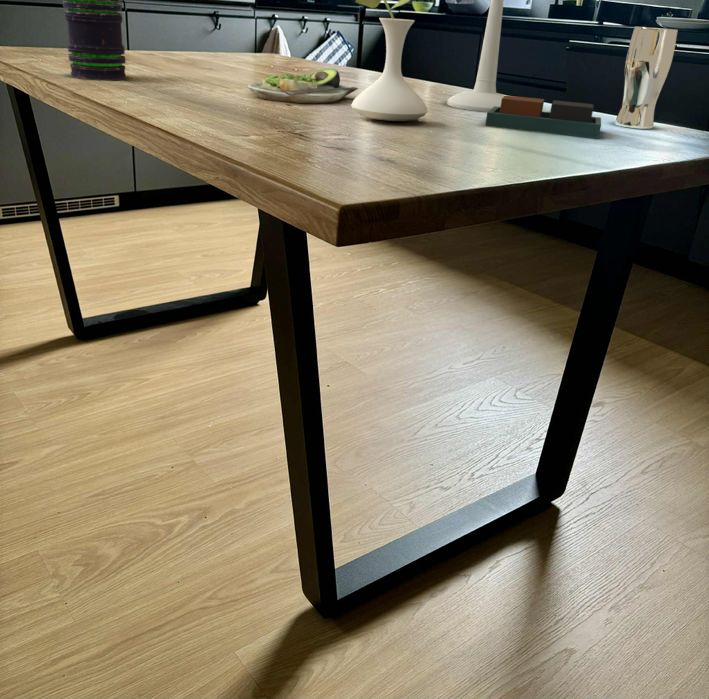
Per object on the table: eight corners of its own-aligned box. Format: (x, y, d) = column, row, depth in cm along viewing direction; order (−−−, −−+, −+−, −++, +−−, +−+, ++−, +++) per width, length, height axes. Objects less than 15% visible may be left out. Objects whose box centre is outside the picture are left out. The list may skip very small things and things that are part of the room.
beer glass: (656, 131, 116) (680, 30, 109) (611, 126, 118) (633, 26, 111) (654, 125, 122) (677, 29, 115) (612, 121, 124) (632, 26, 117)
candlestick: (444, 108, 125) (468, -93, 112) (449, 99, 136) (470, -84, 123) (519, 114, 123) (551, -89, 110) (517, 106, 134) (546, -79, 121)
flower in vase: (439, 121, 109) (461, -67, 98) (401, 129, 100) (420, -77, 90) (368, 110, 115) (381, -68, 104) (326, 116, 107) (335, -78, 96)
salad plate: (338, 109, 114) (339, 78, 112) (231, 99, 116) (231, 68, 114) (361, 97, 131) (363, 70, 129) (268, 88, 134) (268, 61, 132)
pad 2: (588, 128, 111) (593, 104, 109) (588, 132, 106) (593, 107, 105) (549, 123, 112) (553, 100, 110) (547, 127, 108) (551, 103, 106)
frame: (598, 130, 112) (601, 117, 111) (598, 138, 105) (601, 124, 104) (492, 119, 116) (494, 106, 115) (485, 126, 108) (487, 112, 108)
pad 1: (540, 122, 112) (544, 99, 111) (537, 126, 108) (542, 102, 106) (502, 118, 114) (505, 95, 112) (498, 122, 109) (501, 98, 108)
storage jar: (83, 80, 126) (74, -15, 119) (61, 73, 132) (51, -17, 126) (136, 79, 132) (130, -11, 125) (113, 73, 138) (106, -13, 132)
